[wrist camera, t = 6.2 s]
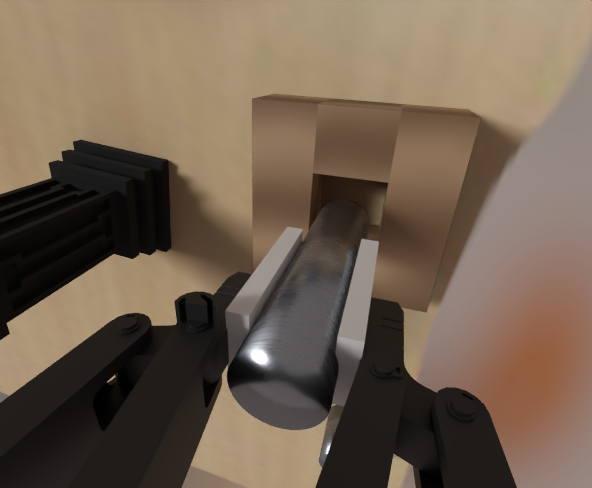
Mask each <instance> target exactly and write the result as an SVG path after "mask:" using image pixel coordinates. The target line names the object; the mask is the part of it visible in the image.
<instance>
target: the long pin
mask: <svg viewBox="0 0 592 488" xmlns="http://www.w3.org/2000/svg"><path fill="white" fill-rule="evenodd" d="M369 228H370V222H369V218H368V215H367V213H366V212H365V210H364V209H363V208H362V207H361V206H360V205H359V204H357V203H355V202H353V201H350V200H345V199H339V200H334V201H331V202H329V203H328V204H326V205H325V206H324V207H323V208H322V209H321V211H320V212H319V214H318V216H317V217H316V219H315V221H314V223H313V224H312V226H311V228H310V229H309V231H308V233H307V234H306V236H305V238H304V240H303V241H302V243H301V245H300V247H299V248H298V250H297V252H296V253H295V255H294V257H293V259H292V260H291V262H290V264H289V265H288V267H287V269H286V270H285V272H284V274H283V276H282V277H281V279H280V281H279V282H278V284H277V286H276V287H275V289H274V291H273V293H272V294H271V296H270V298H269V299H268V301H267V303H266V305H265V306H264V308H263V310H262V311H261V313H260V315H259V316H258V318H257V320H256V322H255V323H254V325H253V327H252V328H251V330H250V332H249V333H248V335H247V336H246V338H245V340H244V341H243V343H242V345H241V347H240V348H239V350H238V352H237V353H236V355H235V357H234V358H233V360H232V362H231V364H230V366H229V368H228V372H227V382H228V386H229V389H230V391H231V393H232V395H233V397H234V398H235V399H236V401H237V402H238V403H239V404H240V406H241V407H242V408H243V409H245V410H246V411H247V412H248V413H249V414H251V415H252V416H254V417H255V418H257V419H258V420H260V421H262V422H264V423H266V424H269V425H272V426H274V427H278V428H282V429H289V430H302V429H308V428H312V427H314V426H316V425H318V424H320V423H321V422H322V421H324V420H325V419H326V417H327V416H328V414H329V412H330V409H331V405H332V401H333V396H334V391H335V387H336V382H337V377H338V372H339V365H338V360H337V357H336V354H335V351H336V344H337V337H338V333H339V328H340V324H341V320H342V316H343V312H344V308H345V304H346V300H347V296H348V292H349V288H350V284H351V280H352V276H353V272H354V268H355V263H356V259H357V255H358V251H359V247H360V243H361V239H366V240H367V238H368V233H369Z"/></svg>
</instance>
